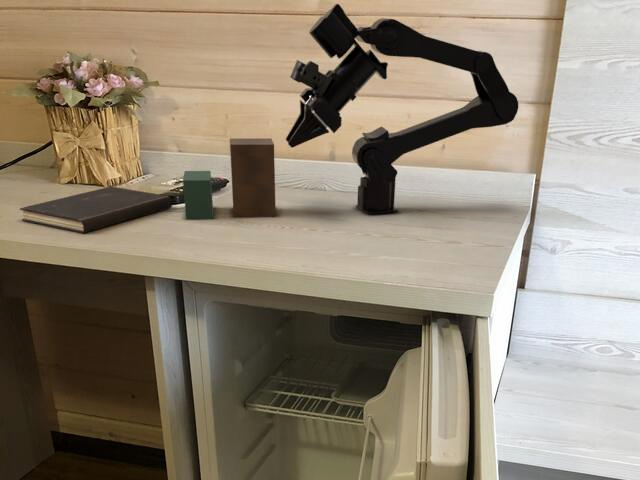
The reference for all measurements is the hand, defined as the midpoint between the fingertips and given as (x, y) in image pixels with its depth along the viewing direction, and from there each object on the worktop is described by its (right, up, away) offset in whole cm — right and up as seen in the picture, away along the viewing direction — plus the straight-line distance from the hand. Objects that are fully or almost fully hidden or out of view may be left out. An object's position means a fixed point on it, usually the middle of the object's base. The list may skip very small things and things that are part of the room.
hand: (288, 143), depth 139 cm
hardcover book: (-36, -13, +2) cm, 38 cm away
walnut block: (-7, -11, +6) cm, 14 cm away
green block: (-18, -12, +4) cm, 22 cm away
